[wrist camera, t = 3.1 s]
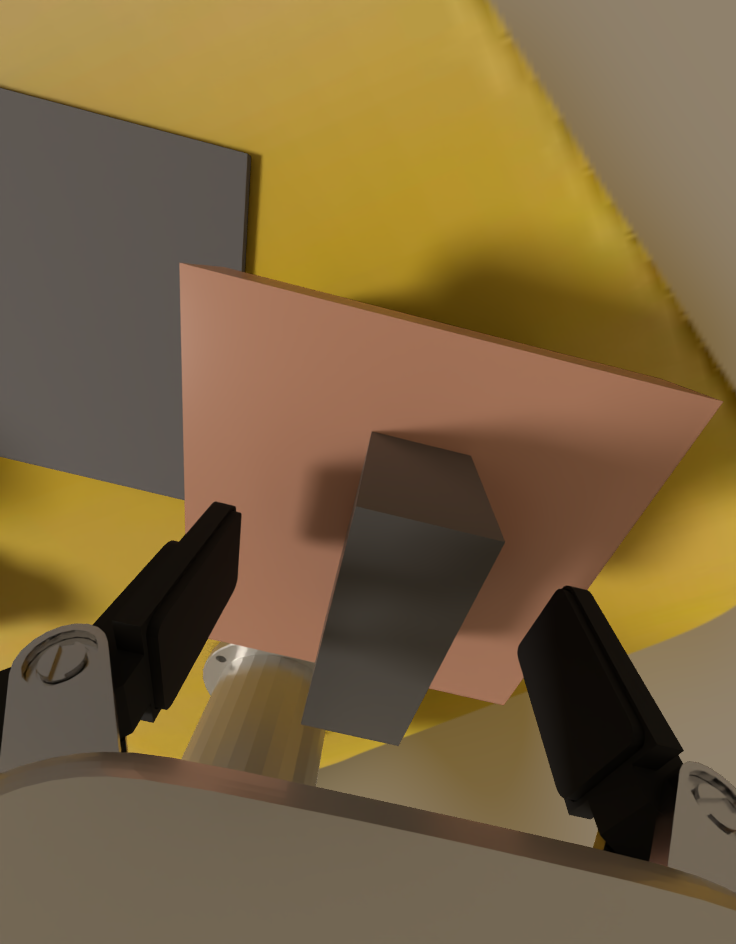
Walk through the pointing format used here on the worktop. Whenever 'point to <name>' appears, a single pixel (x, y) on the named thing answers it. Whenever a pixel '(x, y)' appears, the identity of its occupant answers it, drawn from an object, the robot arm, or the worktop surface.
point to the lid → (406, 486)
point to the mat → (104, 285)
